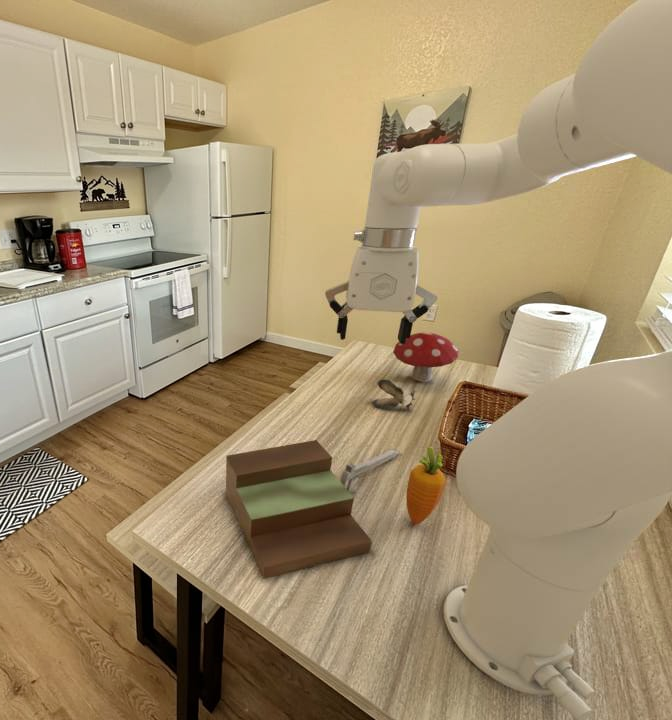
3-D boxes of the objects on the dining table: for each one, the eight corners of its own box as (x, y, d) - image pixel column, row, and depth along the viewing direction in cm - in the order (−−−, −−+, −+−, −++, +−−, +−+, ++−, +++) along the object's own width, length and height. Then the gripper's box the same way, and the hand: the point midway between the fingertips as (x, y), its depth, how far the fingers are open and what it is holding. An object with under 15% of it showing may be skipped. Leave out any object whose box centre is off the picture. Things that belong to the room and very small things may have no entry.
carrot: (430, 540, 62) (454, 466, 56) (396, 527, 65) (415, 455, 59) (431, 519, 66) (454, 448, 60) (399, 508, 69) (418, 439, 62)
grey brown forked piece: (410, 396, 102) (375, 384, 105) (420, 384, 96) (383, 372, 99) (404, 421, 99) (368, 408, 102) (414, 409, 93) (376, 396, 96)
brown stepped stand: (369, 552, 61) (379, 509, 57) (263, 578, 57) (267, 534, 53) (311, 476, 77) (316, 439, 73) (225, 493, 73) (226, 455, 69)
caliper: (342, 497, 71) (347, 470, 69) (337, 494, 72) (342, 467, 70) (398, 454, 82) (404, 430, 80) (393, 451, 83) (399, 427, 81)
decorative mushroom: (455, 398, 103) (470, 346, 97) (390, 389, 109) (400, 339, 103) (443, 373, 117) (456, 326, 111) (386, 366, 122) (395, 321, 116)
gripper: (331, 241, 61) (320, 342, 67) (457, 242, 56) (431, 351, 62) (330, 236, 67) (320, 329, 74) (443, 237, 62) (420, 336, 69)
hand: (371, 339), depth 68 cm, fingers open, 9 cm apart
